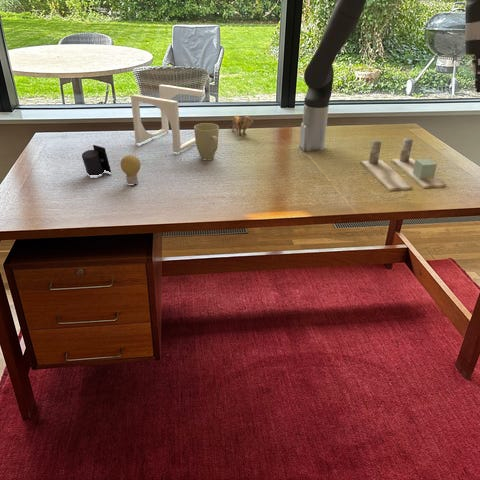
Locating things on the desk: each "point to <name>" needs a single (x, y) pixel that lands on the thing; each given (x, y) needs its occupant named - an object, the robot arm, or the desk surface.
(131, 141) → the desk surface
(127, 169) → the light bulb
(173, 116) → the cream frame stand
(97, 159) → the speaker
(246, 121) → the lion figurine
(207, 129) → the mug
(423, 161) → the sage block
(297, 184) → the desk surface
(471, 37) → the robot arm
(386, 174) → the empty strip
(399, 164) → the block strip
